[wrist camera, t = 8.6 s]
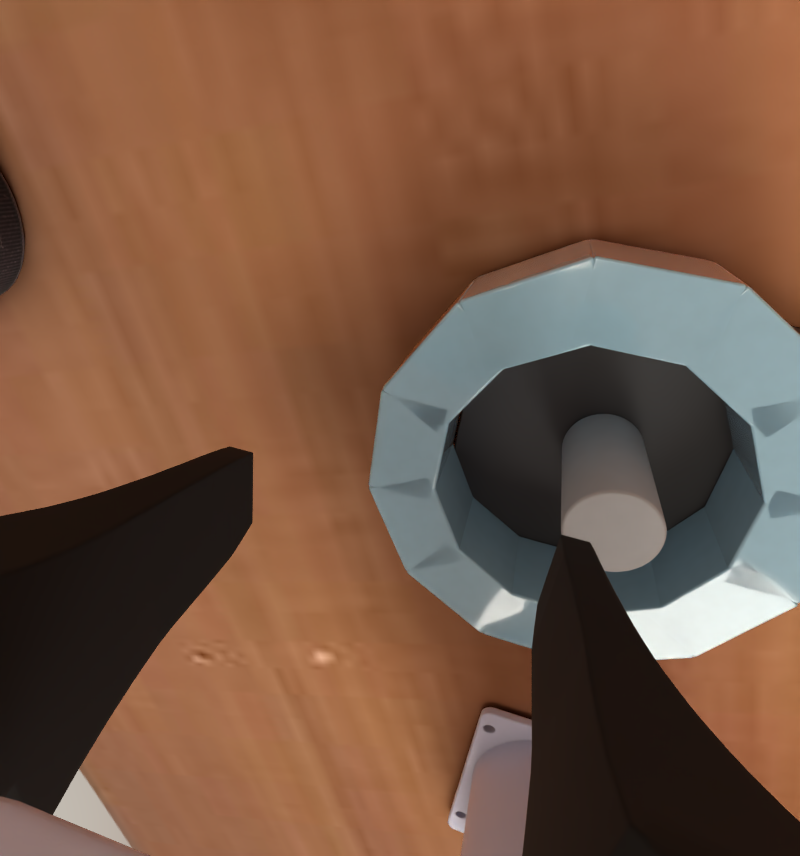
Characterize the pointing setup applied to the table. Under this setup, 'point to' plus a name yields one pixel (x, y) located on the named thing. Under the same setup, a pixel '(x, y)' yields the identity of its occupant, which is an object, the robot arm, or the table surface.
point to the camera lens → (9, 238)
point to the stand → (595, 450)
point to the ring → (629, 333)
